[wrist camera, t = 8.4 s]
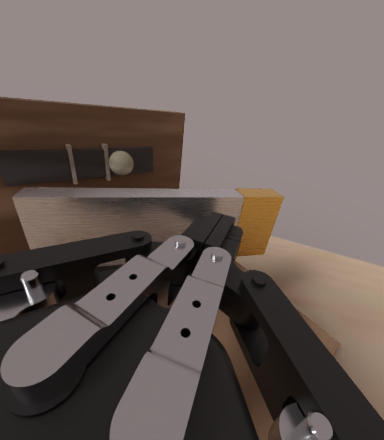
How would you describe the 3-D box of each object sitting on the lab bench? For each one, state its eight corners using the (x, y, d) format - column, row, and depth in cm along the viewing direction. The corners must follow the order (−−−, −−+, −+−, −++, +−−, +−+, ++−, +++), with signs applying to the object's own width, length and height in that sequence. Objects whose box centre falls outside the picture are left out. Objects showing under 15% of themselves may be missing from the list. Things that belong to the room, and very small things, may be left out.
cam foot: (-50, 404, 11) (-208, 257, 6) (30, 268, 19) (-9, 162, 14) (276, 338, 16) (332, 229, 11) (226, 254, 24) (246, 171, 19)
